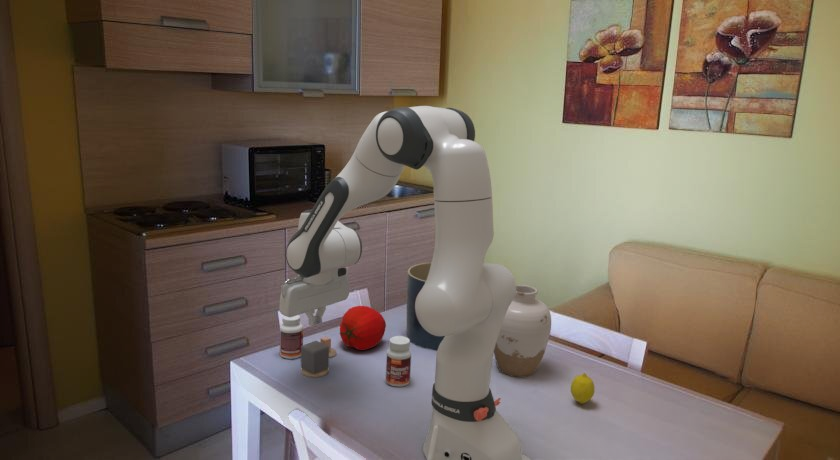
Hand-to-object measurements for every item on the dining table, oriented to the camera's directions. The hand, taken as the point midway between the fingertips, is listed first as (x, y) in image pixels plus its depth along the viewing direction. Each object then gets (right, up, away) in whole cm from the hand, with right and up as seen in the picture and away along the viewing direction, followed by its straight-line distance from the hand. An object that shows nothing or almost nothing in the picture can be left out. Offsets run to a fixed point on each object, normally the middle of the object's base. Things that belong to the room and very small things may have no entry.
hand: (315, 324), depth 154 cm
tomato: (+10, -9, +20) cm, 24 cm away
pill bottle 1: (-9, -10, +12) cm, 18 cm away
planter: (+33, -8, +29) cm, 45 cm away
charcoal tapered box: (-1, -12, +3) cm, 12 cm away
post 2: (+1, -10, +13) cm, 17 cm away
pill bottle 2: (+21, -15, 0) cm, 26 cm away
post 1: (-1, -13, +3) cm, 13 cm away
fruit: (+66, -18, -7) cm, 69 cm away
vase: (+53, -14, +10) cm, 55 cm away
